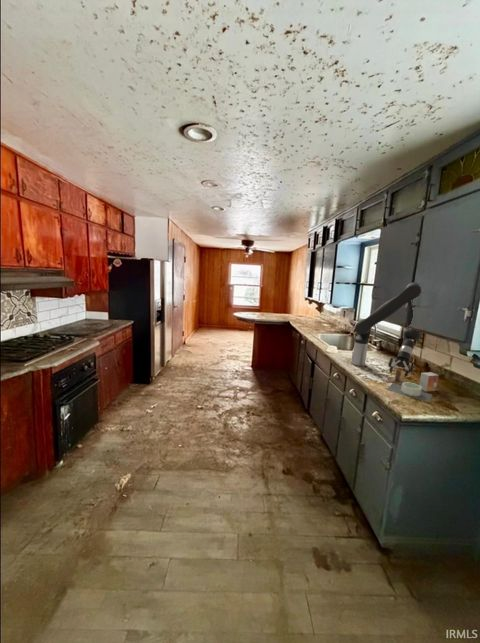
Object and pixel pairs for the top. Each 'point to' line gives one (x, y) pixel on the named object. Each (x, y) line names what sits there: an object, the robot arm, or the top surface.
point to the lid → (396, 378)
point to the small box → (429, 381)
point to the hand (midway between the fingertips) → (397, 374)
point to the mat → (397, 389)
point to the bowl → (411, 389)
